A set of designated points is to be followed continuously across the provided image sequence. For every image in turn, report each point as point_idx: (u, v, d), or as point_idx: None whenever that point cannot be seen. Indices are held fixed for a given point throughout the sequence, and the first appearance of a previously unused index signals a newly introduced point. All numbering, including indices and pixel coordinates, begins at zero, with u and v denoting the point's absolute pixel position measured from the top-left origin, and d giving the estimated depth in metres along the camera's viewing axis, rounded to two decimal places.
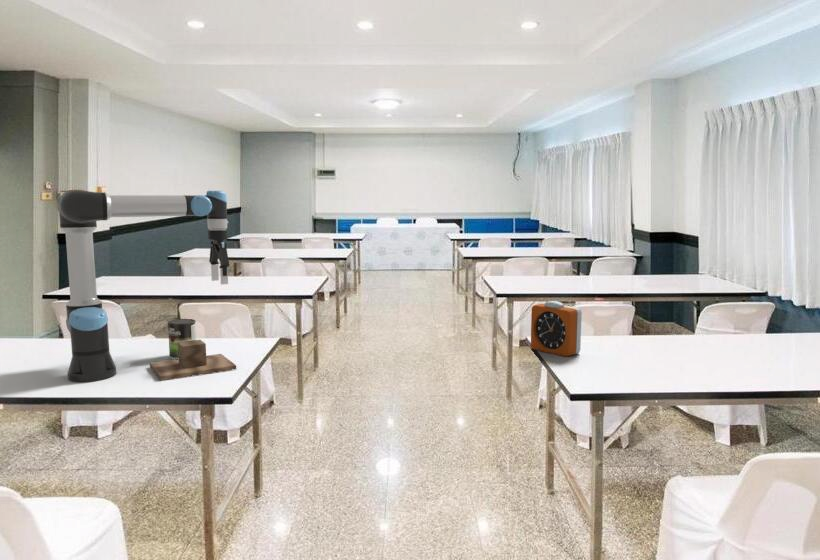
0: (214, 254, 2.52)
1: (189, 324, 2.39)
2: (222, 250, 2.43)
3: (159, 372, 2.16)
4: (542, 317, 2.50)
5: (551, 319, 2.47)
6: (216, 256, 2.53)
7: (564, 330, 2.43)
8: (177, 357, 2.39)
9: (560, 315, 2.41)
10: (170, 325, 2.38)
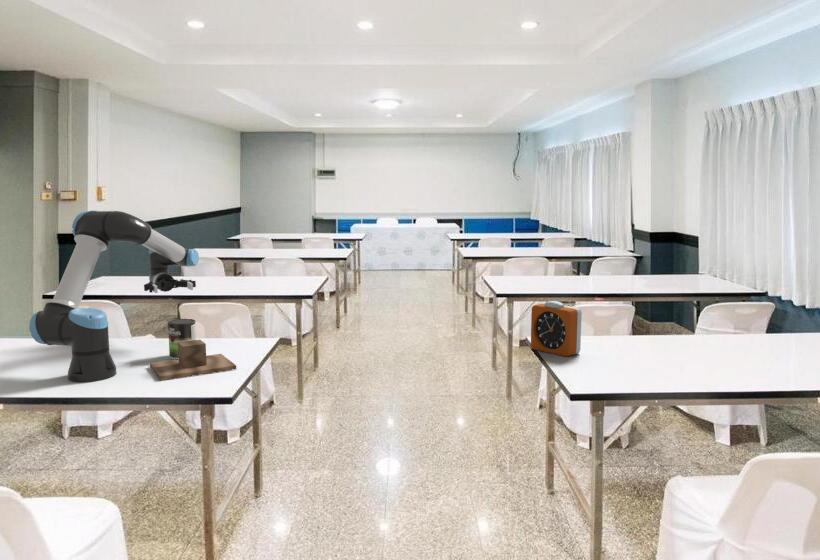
0: (159, 283, 2.57)
1: (189, 324, 2.39)
2: None
3: (159, 372, 2.16)
4: (542, 317, 2.50)
5: (551, 319, 2.47)
6: (157, 286, 2.56)
7: (564, 330, 2.43)
8: (177, 357, 2.39)
9: (560, 315, 2.41)
10: (170, 325, 2.38)
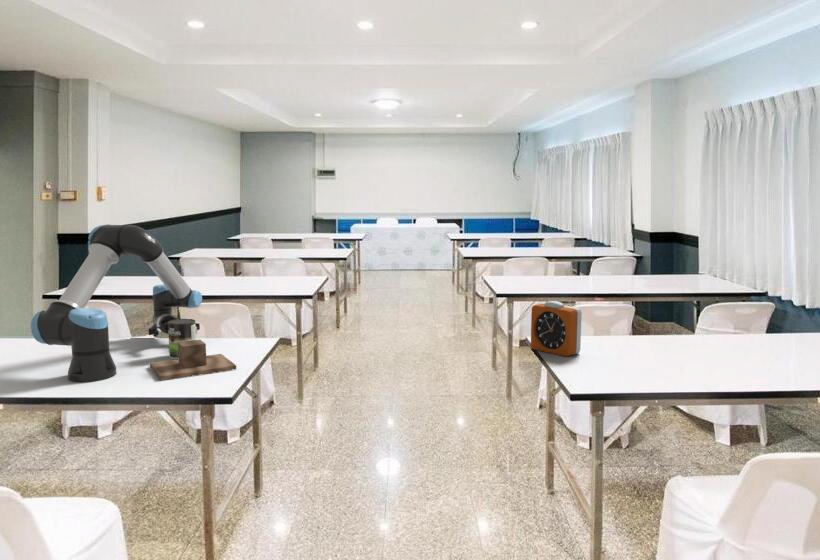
0: (163, 327, 2.58)
1: (189, 324, 2.39)
2: None
3: (159, 372, 2.16)
4: (542, 317, 2.50)
5: (551, 319, 2.47)
6: (162, 330, 2.57)
7: (564, 330, 2.43)
8: (177, 357, 2.39)
9: (560, 315, 2.41)
10: (170, 325, 2.38)
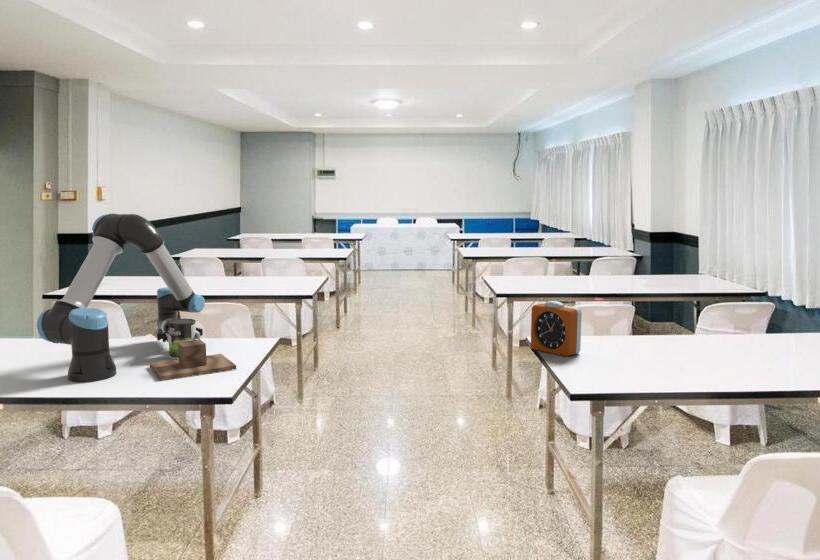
0: None
1: (189, 324, 2.39)
2: None
3: (159, 372, 2.16)
4: (542, 317, 2.50)
5: (551, 319, 2.47)
6: None
7: (564, 330, 2.43)
8: (177, 357, 2.39)
9: (560, 315, 2.41)
10: (170, 325, 2.38)
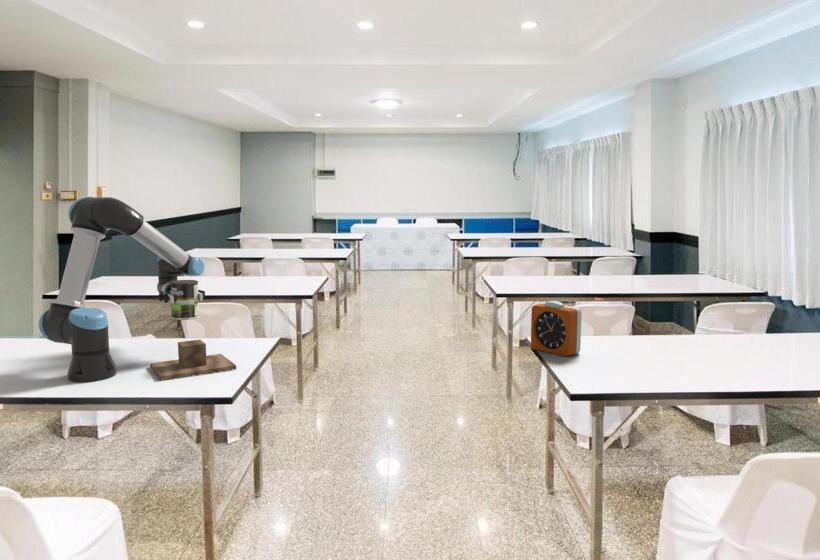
0: None
1: (192, 284, 2.35)
2: None
3: (159, 372, 2.16)
4: (542, 317, 2.50)
5: (551, 319, 2.47)
6: None
7: (564, 330, 2.43)
8: (179, 317, 2.35)
9: (560, 315, 2.41)
10: (172, 285, 2.34)
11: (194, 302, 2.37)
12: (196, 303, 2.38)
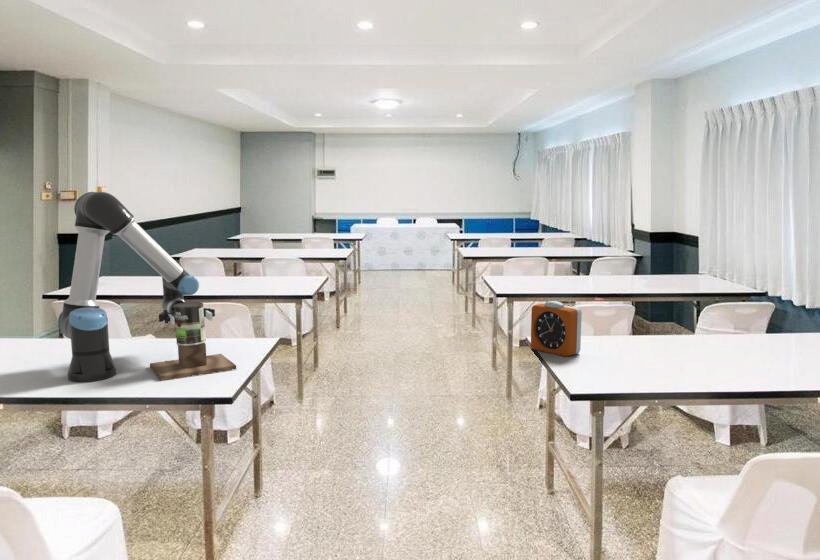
0: None
1: (197, 307, 2.21)
2: None
3: (159, 372, 2.16)
4: (542, 317, 2.50)
5: (551, 319, 2.47)
6: (173, 316, 2.28)
7: (564, 330, 2.43)
8: (185, 343, 2.21)
9: (560, 315, 2.41)
10: (176, 309, 2.20)
11: (199, 326, 2.22)
12: (202, 327, 2.24)
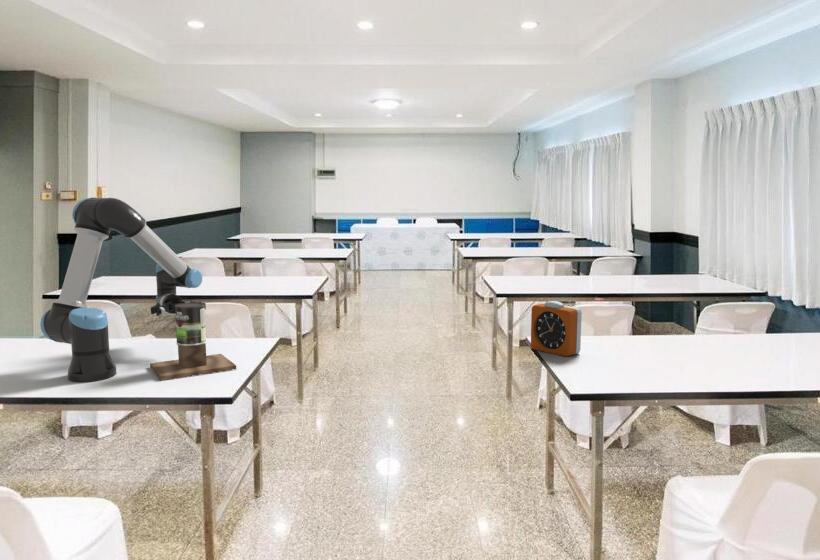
0: (167, 306, 2.41)
1: (198, 308, 2.21)
2: None
3: (159, 372, 2.16)
4: (542, 317, 2.50)
5: (551, 319, 2.47)
6: (165, 309, 2.40)
7: (564, 330, 2.43)
8: (185, 343, 2.21)
9: (560, 315, 2.41)
10: (177, 309, 2.20)
11: (200, 327, 2.22)
12: (203, 328, 2.24)
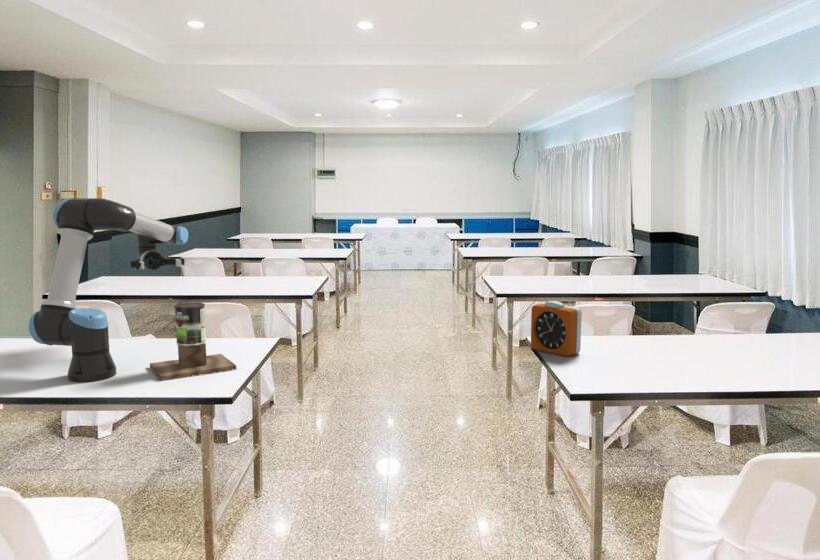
0: (146, 261, 2.49)
1: (198, 308, 2.21)
2: None
3: (159, 372, 2.16)
4: (542, 317, 2.50)
5: (551, 319, 2.47)
6: (145, 263, 2.48)
7: (564, 330, 2.43)
8: (185, 343, 2.21)
9: (560, 315, 2.41)
10: (177, 309, 2.20)
11: (200, 327, 2.22)
12: (203, 328, 2.24)
